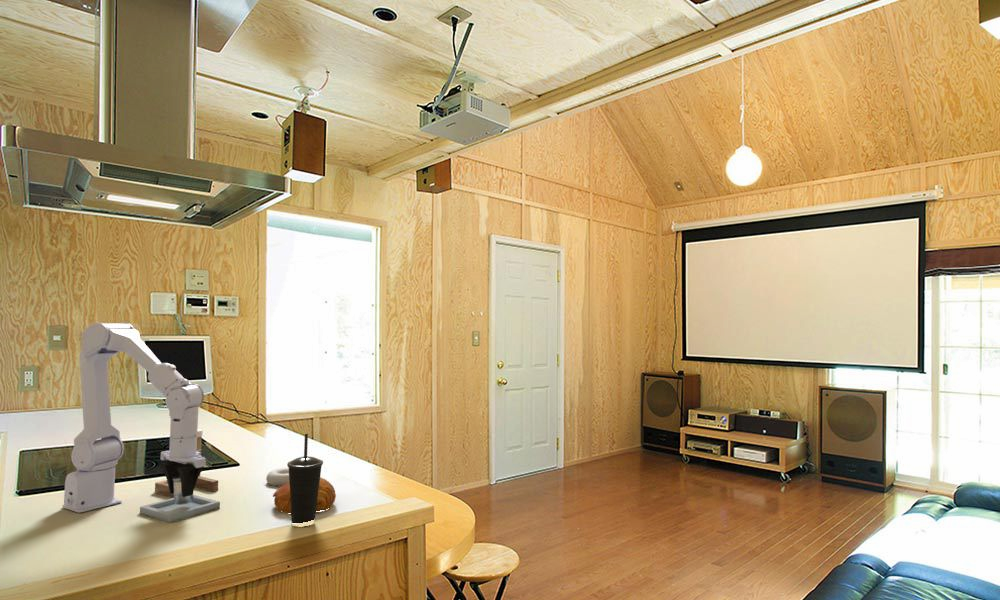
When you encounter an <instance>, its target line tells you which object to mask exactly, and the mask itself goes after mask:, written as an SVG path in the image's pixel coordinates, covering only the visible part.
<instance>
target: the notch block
mask: <svg viewBox="0 0 1000 600" xmlns="http://www.w3.org/2000/svg"><path fill="white" fill-rule="evenodd" d="M195 488H198V489H202V490H205V491H209V492H216V491H219V480H217V479H213V478H209V477H205V476H201V475H200V476H199V477H198V479H197V482H196V485H195ZM154 493H155V494H159V495H162V496H166V497H170V498H174V493H172V494H171V493H170V490H169V486H168V482H167V479H166V480H162V481H158V482H154Z"/></svg>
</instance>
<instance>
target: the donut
mask: <svg viewBox="0 0 1000 600" xmlns="http://www.w3.org/2000/svg"><path fill="white" fill-rule="evenodd" d="M265 479H266V483H268V485H269V486H270V485H271V486H273V487H281V486H282V485H284V484H286V483H288V482H289V467H279V468H276V469H273V470H271V471H269V472H268V473H267V475H266V478H265Z"/></svg>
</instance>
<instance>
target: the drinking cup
mask: <svg viewBox="0 0 1000 600" xmlns="http://www.w3.org/2000/svg"><path fill="white" fill-rule="evenodd" d="M308 439H309V434H308V433H305V434H304V445H303V447H304V449H303V450H304V451H303V456H299V457H296V458H294V459H292V460H290V461H288V462H287V463H286V465H287V468H289V483H290V501H291V515H290V519H291V524H292V523H303V522H308V521H311V520H314V519H315V520H316V514H317V513H316V506H317V498H318V490H319V482H320V477H321V474H322V466H323V464H324V461H323V460H322V459H319V458H317V457H314V456H310V455H309V456H308V445H309V444H308V443H309V441H308Z"/></svg>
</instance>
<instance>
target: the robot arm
mask: <svg viewBox="0 0 1000 600" xmlns="http://www.w3.org/2000/svg"><path fill="white" fill-rule="evenodd" d="M80 337H81V341H80V342H81V349H80V353H79V370H80V371H79V372H80V386H81V387H80V388H81V401H82V402H81V403H82V405H81V406H82V421H83V429H82V430H81V432H79V433H78V435H76V436H75V437H74V439H73V448H72V451H71V457H70V458H71V463H72V464H73V466H74V467H75V468H76V471H73V472H70V473H68V474H67V475H66V477H65V481H64V494H63V495H64V497H63V498H64V499H63V505H61V507H62V508H63V509H67V510H69V511H72V512H76V513H85V512H88V511H93V510H96V509H102V508H105V507H107V506H112V505H117V504H120V503H122V502H123V501H122V499H119V498H114V497H115V485H116V484H115V480H116V465H118V462H119V460H120V459H121V458H122V457H123V455H124V453H125V446H124V445H125V444H124V443H123V441H122V438H121V435H120V431H119V429H117V428H116V427H115V426H114V425H112V416H111V414H112V413H111V401H110V400H111V399H110V387H109V371H108V369H109V368H108V361H110V360H111V359H112V358H113V357H114V356H115V355H116V354H118V353H120V352H123V353H125V354H126V355H128V356H129V357H130V358H132V359H133V360H134V361H135V362H136V364H138V365H139V366H141V367H142V368H143V369H144V370H145V371H146V372H147V374H148V375H147V380H148V381H149V382H150V383H151V384H152V385H153V386H154V387H155V388H156V389H157V390H158V392H160V394H162V395H163V396H164V398H165V399H164V403H165V406H166V407H167V409H168V410H169V413H168V414H169V418H170V427H169V428H170V429H169V447H168V448H169V450H165V451H161V452H160V460H161V461H166V462H164V463H161V464H160V468H161V470H162V472H163V473H164V476H165V478H166V480H167V482H168V486H169V490H170V493H171V494H172V493H174V483H173V480H172V478H173V477H174V476H176V475H180V479H181V491H182V496H183V497H186V496H190V495H192V494H193V495H194V491H195V488H196V487H195V485H196V482H197V479H198V477H199V475H200V474H201V473H202V472H203V470H204V469H205V467H206V466H207V465H206V462H207V458H206V457H203V456H202V455H201V456H200V453H201V454H202V451H201V452H197V429H199V428H198V426H199V406H201V405H203V402H204V399H205V394H204V390H203V389H202V387H201V386H200V385H199V384H197V383H191V382H190V381H189V379H187V378H184V377H185V376H184V377H183V375H182V374H181V373H180V372H179V371H178V370H176V369H177V367H176V365H174V364H171V363H168V362H161V360H160V359H159V358H158V357H157V356H156V355H155V354H154V352H153V350H151V348H149V346H148V345H146V343H145V342H144V341H143V340H142V339H141V337H140V332H139V330H137V329H136V328H135V327H134V326H133V325H132V324H131V323H129V322H120V323H119V322H117V323H115V322H111V323H110V322H93V323H90V324H89V325H87V327H86V328H84V330H82V332H81V333H80ZM200 476H201V475H200Z"/></svg>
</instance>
